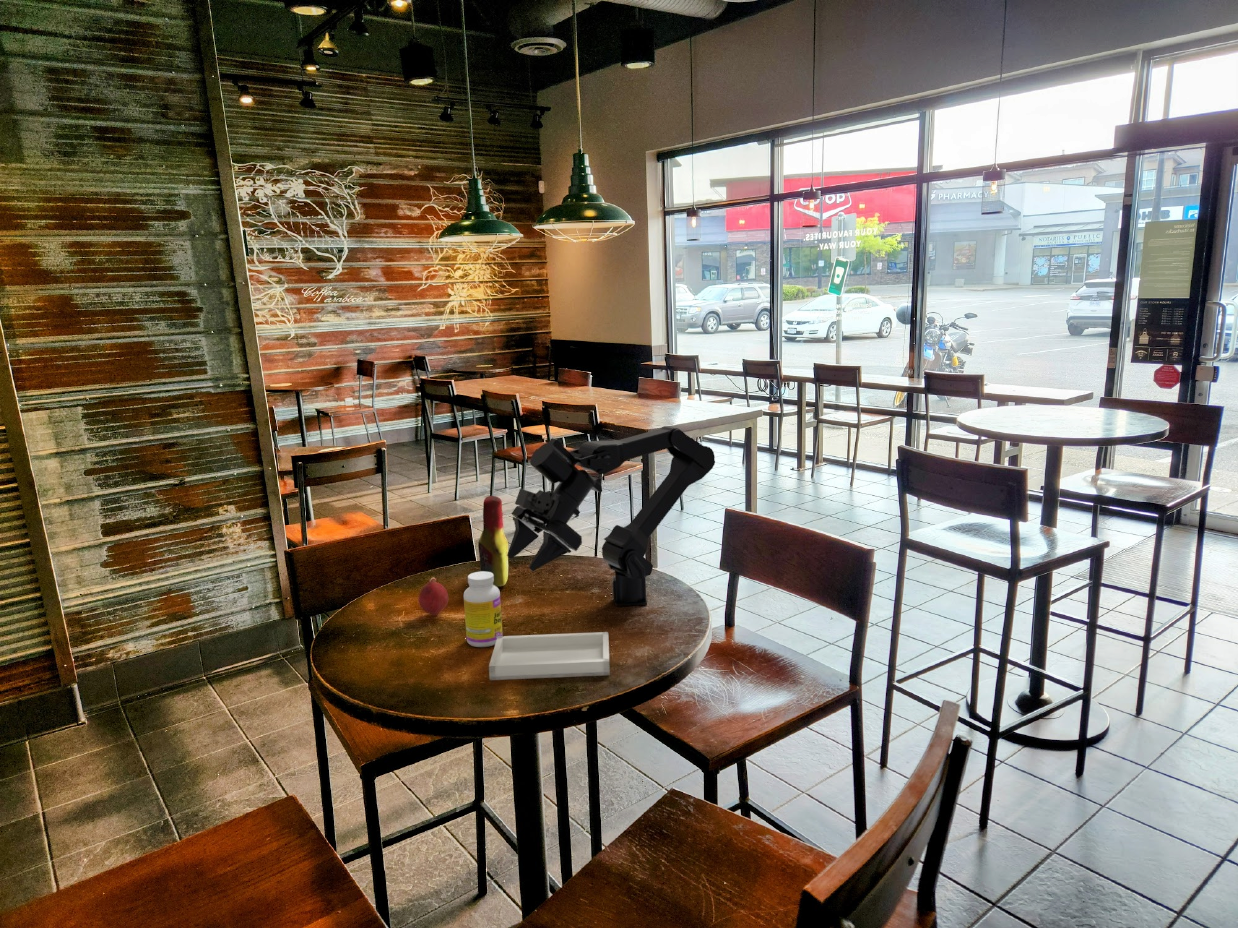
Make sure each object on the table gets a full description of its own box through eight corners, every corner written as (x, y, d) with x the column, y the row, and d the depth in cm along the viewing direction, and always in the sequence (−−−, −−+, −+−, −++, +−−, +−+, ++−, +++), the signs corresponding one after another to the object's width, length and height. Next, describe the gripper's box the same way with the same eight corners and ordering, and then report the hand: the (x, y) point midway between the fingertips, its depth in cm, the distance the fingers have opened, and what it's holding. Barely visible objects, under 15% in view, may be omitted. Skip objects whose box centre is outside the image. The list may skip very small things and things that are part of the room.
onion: (434, 623, 155) (431, 584, 154) (414, 617, 158) (410, 580, 157) (455, 613, 160) (452, 575, 159) (435, 608, 163) (432, 571, 162)
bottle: (514, 588, 173) (509, 500, 169) (485, 592, 172) (479, 503, 168) (505, 571, 185) (500, 489, 181) (478, 575, 183) (472, 491, 179)
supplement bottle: (499, 648, 143) (495, 581, 140) (463, 648, 143) (458, 582, 141) (505, 633, 149) (501, 568, 147) (471, 633, 150) (466, 569, 147)
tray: (608, 644, 143) (608, 631, 142) (609, 674, 131) (609, 661, 131) (498, 649, 142) (497, 636, 142) (489, 680, 131) (488, 666, 130)
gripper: (517, 465, 155) (469, 529, 151) (564, 480, 140) (512, 552, 136) (554, 497, 161) (509, 559, 157) (603, 515, 146) (554, 585, 142)
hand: (519, 563), depth 148 cm, fingers open, 9 cm apart
